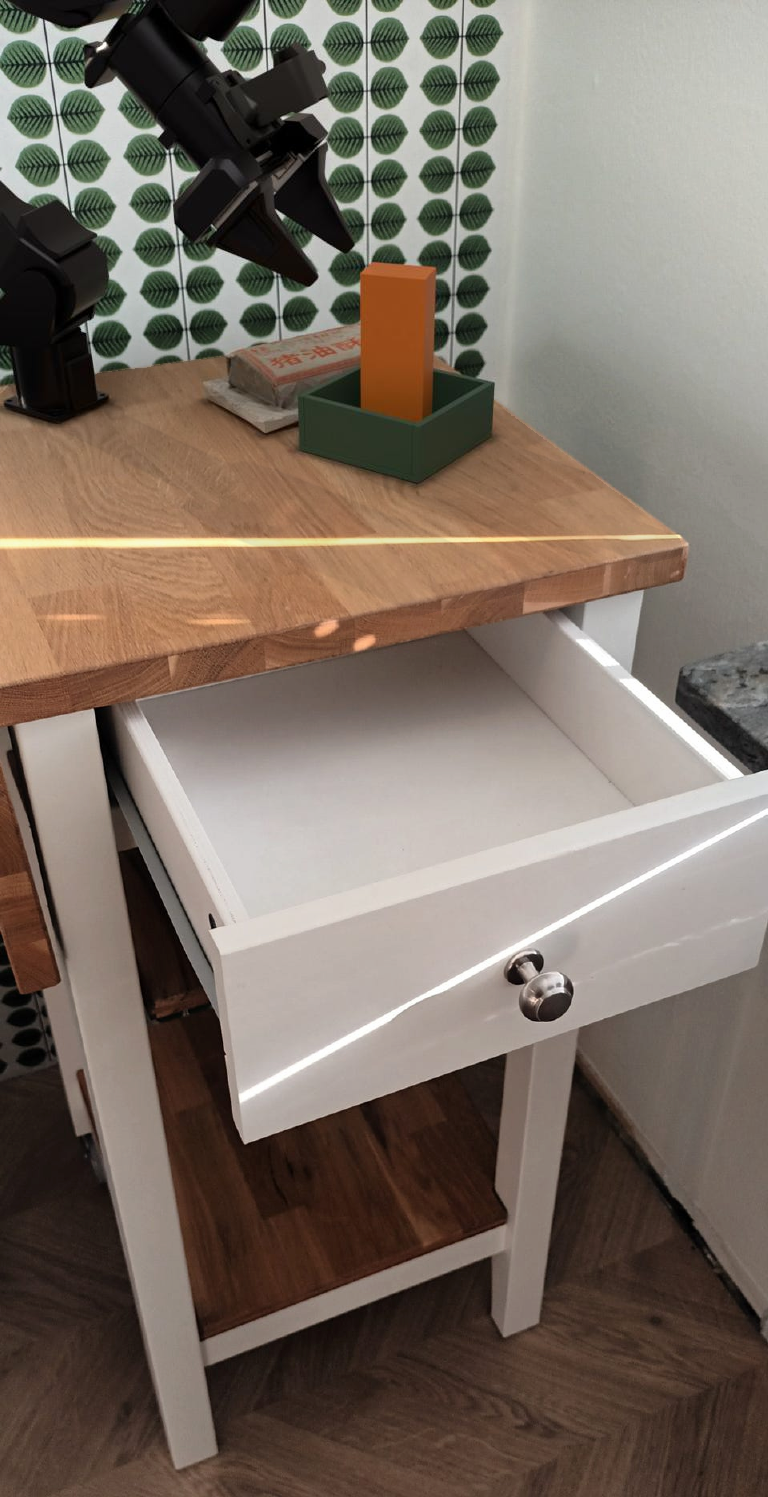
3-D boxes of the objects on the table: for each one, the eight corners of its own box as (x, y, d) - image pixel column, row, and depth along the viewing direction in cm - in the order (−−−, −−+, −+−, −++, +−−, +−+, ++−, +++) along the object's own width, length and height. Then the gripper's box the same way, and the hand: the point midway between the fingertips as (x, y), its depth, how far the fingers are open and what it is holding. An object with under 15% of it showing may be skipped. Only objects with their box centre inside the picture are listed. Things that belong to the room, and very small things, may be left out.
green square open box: (299, 450, 99) (297, 395, 96) (378, 407, 106) (378, 355, 104) (418, 483, 94) (419, 426, 91) (492, 436, 101) (495, 382, 99)
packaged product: (370, 306, 113) (439, 335, 107) (370, 359, 116) (437, 390, 110) (197, 344, 104) (261, 378, 98) (202, 400, 107) (264, 437, 101)
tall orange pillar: (360, 441, 99) (359, 273, 91) (371, 427, 102) (371, 261, 94) (421, 449, 98) (425, 278, 90) (431, 433, 100) (436, 267, 93)
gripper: (203, 18, 77) (373, 221, 81) (299, -10, 92) (439, 163, 96) (102, 149, 83) (264, 330, 88) (207, 103, 98) (342, 260, 102)
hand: (333, 265), depth 93 cm, fingers open, 9 cm apart
